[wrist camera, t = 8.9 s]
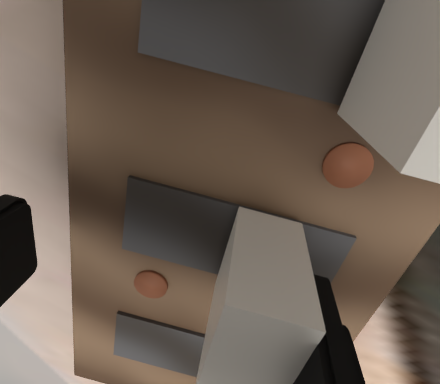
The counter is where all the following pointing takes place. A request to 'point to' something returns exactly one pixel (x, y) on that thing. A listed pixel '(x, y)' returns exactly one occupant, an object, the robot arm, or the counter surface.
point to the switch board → (218, 168)
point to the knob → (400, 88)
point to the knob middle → (262, 305)
